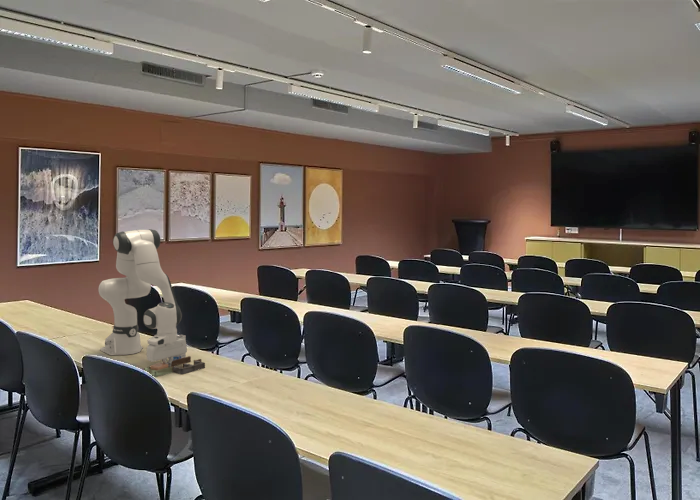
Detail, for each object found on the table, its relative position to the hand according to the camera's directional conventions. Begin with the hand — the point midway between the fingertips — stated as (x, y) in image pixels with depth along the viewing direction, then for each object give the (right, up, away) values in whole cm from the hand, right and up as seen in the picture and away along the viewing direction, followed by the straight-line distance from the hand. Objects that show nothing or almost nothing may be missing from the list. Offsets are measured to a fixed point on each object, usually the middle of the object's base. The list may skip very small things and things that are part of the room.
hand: (167, 366), depth 271 cm
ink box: (-1, 0, +18) cm, 18 cm away
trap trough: (+4, -2, +1) cm, 5 cm away
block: (-2, -2, -4) cm, 5 cm away
